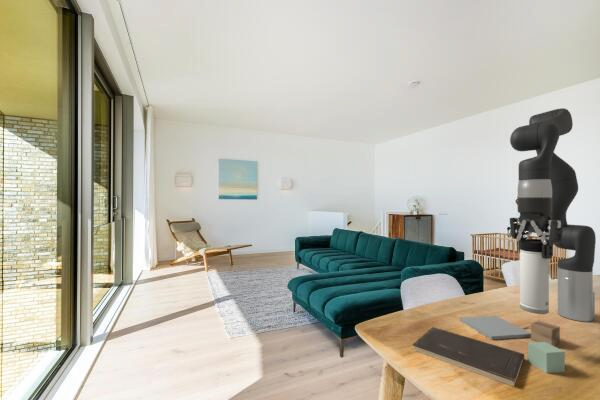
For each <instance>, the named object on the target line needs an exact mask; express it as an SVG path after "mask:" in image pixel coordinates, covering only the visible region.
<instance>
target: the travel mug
mask: <svg viewBox="0 0 600 400" xmlns="http://www.w3.org/2000/svg"><path fill="white" fill-rule="evenodd" d="M542 245H544V244H543V243H542V241H541V239H540V238H528V239H526V240H521V241H520V246H521V247H520V251H521V252H520V253H519V308H520V309H521V310H523V311H525V312H529V313H531V314H535V315H536V314H537V315H548V314H549V313H550V309H549V306H550V302H549V301H550V293H549V292H550V274H549V273H550V271H549V270H550V259H544V258H542Z"/></svg>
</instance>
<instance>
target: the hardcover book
mask: <svg viewBox="0 0 600 400" xmlns="http://www.w3.org/2000/svg"><path fill="white" fill-rule="evenodd" d="M412 346H413V350H414V351H416V352H418V353H421V354H424V355H427V356H430V357H432V358H435V359H437V360H439V361H443V362H446V363H447V364H451V365H454V366H456V367H459V368H462V369H465V370H468V371H470V372H473V373H474V374H475V373H476V374H478V375H481V376H483V377H487V378H490V379H492V380H495V381H497V382H500V383H503V384H505V385H508V386H511V387H515V384H516V380H517V379H518V376H519V373H520V370H521V367H522V364H523V361H525V354H524V353H522V352H519V351H515V350H512V349H509V348H505V347H503V346H499V345H495V344H492V343H489V342H486V341H483V340H479V339H475V338H472V337H469V336H465V335H461V334H458V333H455V332H451V331H448V330H444V329H441V328H437V327H434V326H432V327H431V328H429V330H427V332H425V333H424V334H423V335H421V337H419V338H418V339H417V340H416V341H415V342H413V343H412Z"/></svg>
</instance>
